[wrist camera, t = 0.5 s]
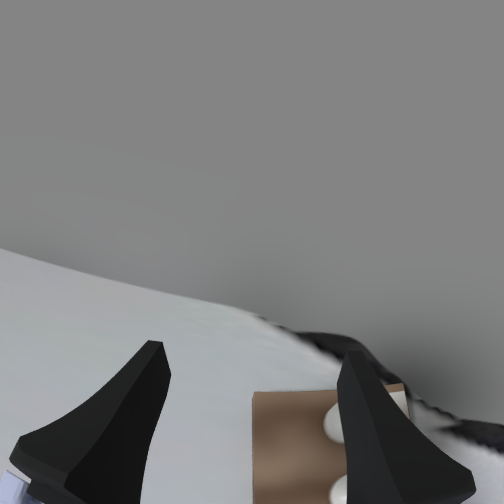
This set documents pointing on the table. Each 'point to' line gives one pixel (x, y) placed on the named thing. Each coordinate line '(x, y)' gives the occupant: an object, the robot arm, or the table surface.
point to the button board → (298, 446)
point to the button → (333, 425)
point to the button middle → (338, 491)
